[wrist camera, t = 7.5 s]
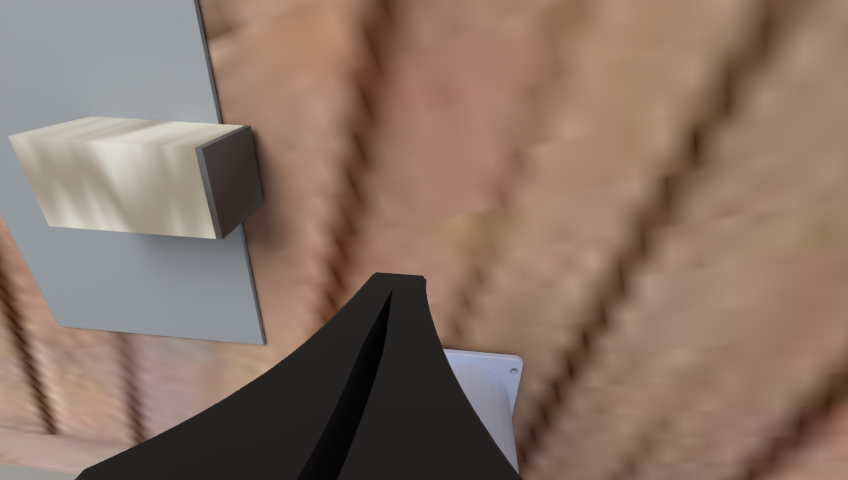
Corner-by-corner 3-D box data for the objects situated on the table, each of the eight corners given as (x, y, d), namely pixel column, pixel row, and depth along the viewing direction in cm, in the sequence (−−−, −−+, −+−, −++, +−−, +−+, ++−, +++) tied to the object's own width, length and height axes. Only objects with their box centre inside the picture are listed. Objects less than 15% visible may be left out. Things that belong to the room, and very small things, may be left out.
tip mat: (265, 341, 26) (263, 344, 26) (62, 323, 27) (58, 326, 26) (166, -158, 14) (160, -161, 14) (-185, -165, 15) (-196, -169, 15)
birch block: (222, 239, 17) (49, 226, 18) (263, 203, 21) (117, 193, 21) (201, 148, 15) (7, 136, 16) (250, 125, 19) (90, 116, 19)
